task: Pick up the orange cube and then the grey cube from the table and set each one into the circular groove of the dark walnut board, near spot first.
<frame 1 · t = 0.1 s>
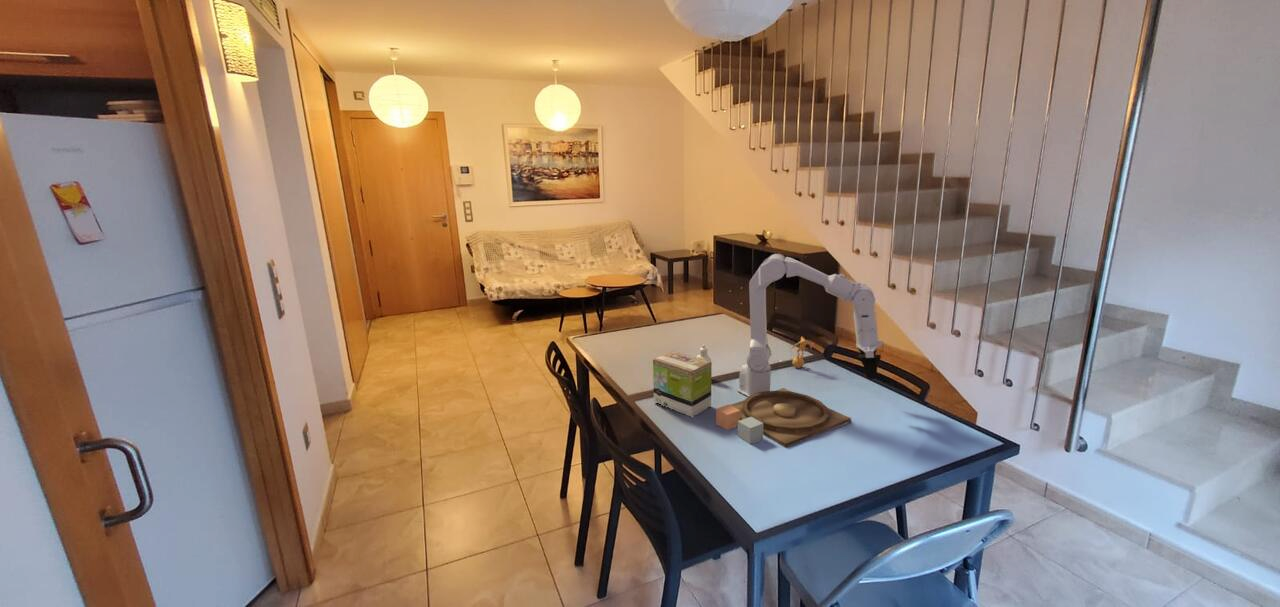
hand: (870, 373, 147), 11 cm above the table, tool pointing down, fingers open, 7 cm apart
grey cube: (750, 438, 135), on the table
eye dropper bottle: (703, 378, 175), on the table
groove tray: (784, 415, 146), on the table
figurine: (799, 369, 181), on the table
tea box: (682, 406, 155), on the table
orange cube: (727, 424, 142), on the table
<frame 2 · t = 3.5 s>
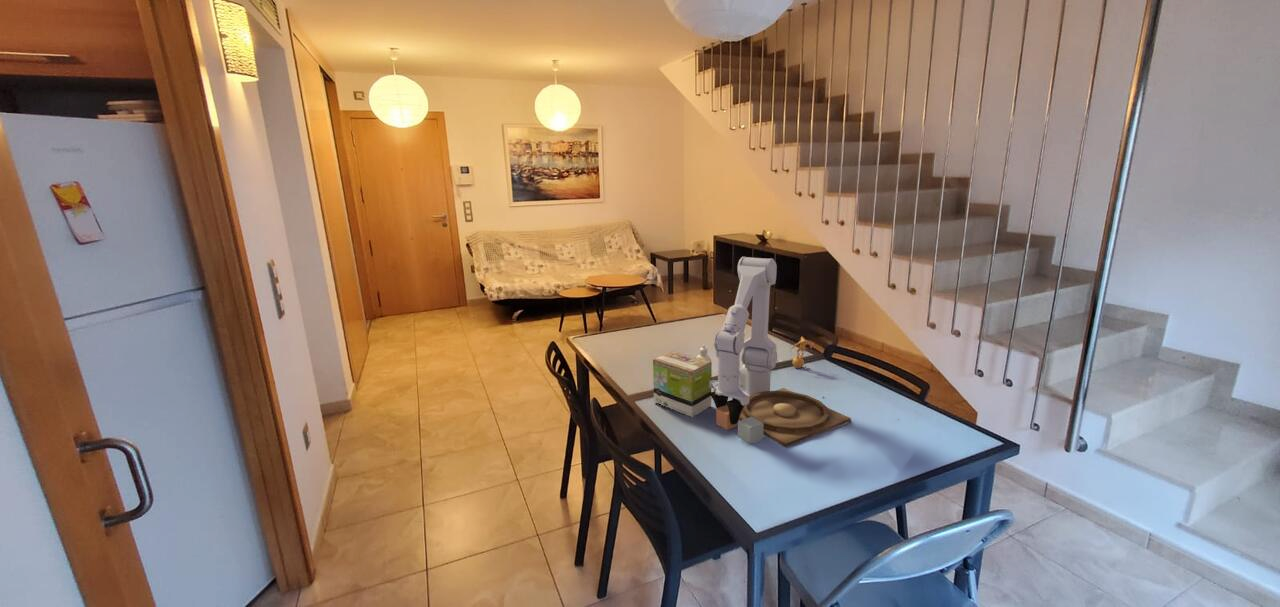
hand: (728, 419, 142), 1 cm above the table, tool pointing down, fingers closed on orange cube, 5 cm apart
orange cube: (727, 424, 142), on the table, touching gripper
everything else where it was.
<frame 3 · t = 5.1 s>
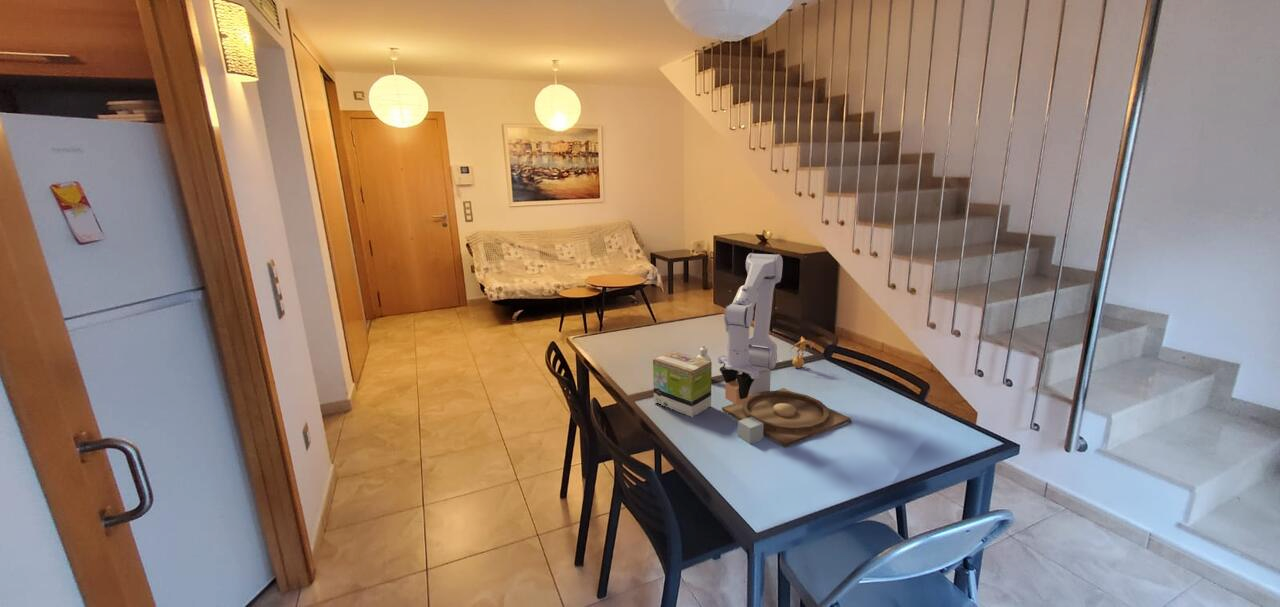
hand: (737, 394, 141), 8 cm above the table, tool pointing down, fingers closed on orange cube, 5 cm apart
orange cube: (737, 399, 142), point 7 cm above the table, touching gripper
everything else where it was.
when the fingers open (4 cm above the table, at t = 6.9 s): orange cube drops 1 cm, resting on groove tray.
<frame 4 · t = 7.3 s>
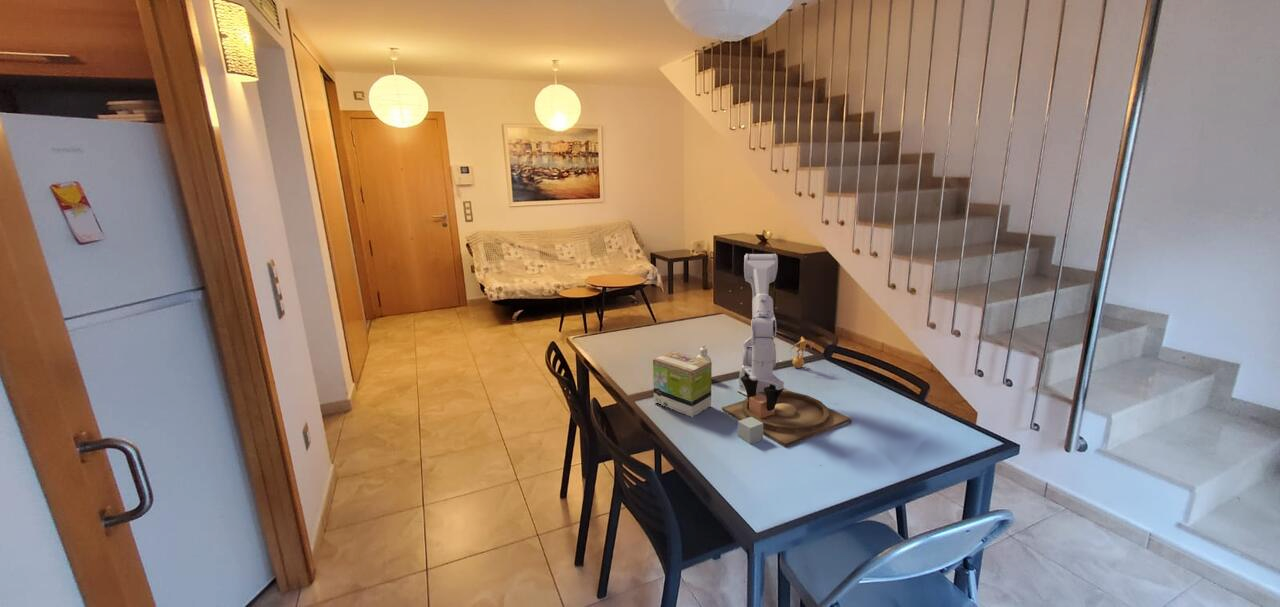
hand: (761, 404, 145), 4 cm above the table, tool pointing down, fingers open, 7 cm apart
orange cube: (760, 413, 146), point 1 cm above the table, touching groove tray
everything else where it was.
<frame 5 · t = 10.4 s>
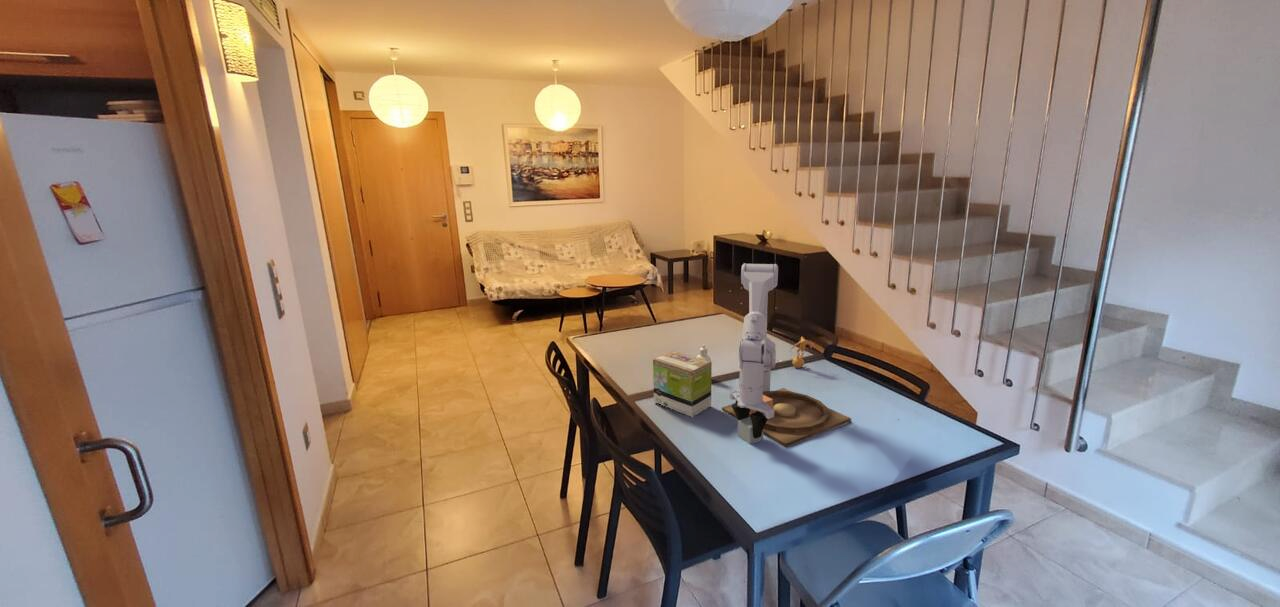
hand: (750, 432, 134), 1 cm above the table, tool pointing down, fingers closed on grey cube, 5 cm apart
grey cube: (750, 437, 135), on the table, touching gripper
everything else where it was.
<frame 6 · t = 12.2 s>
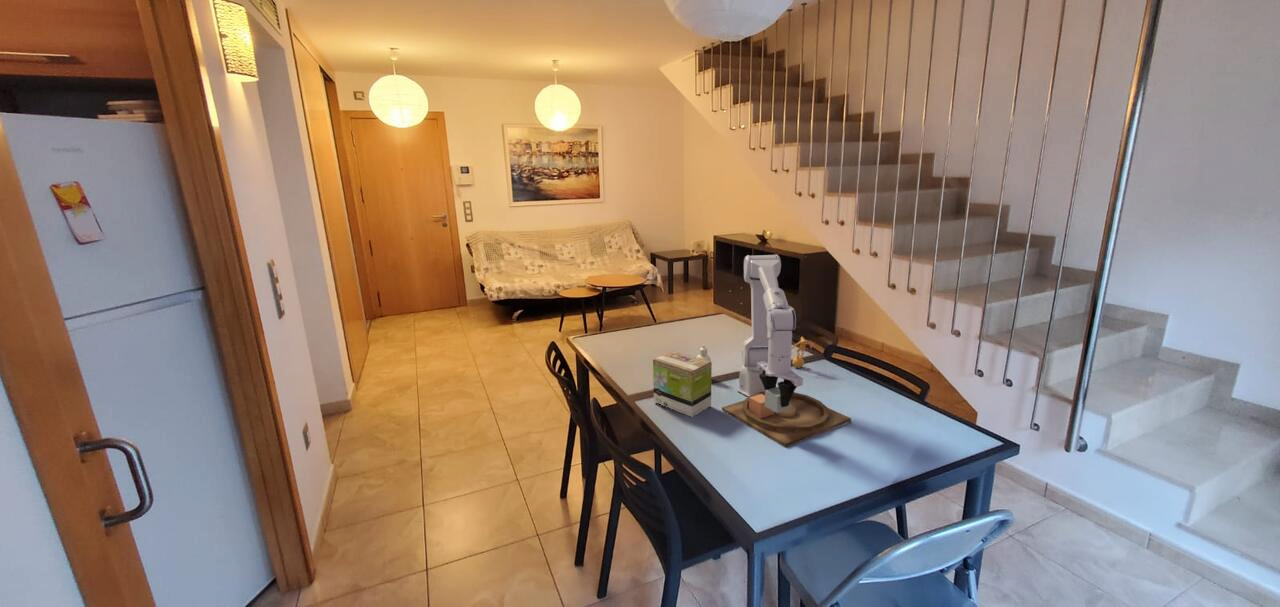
hand: (777, 402, 136), 8 cm above the table, tool pointing down, fingers closed on grey cube, 5 cm apart
grey cube: (777, 407, 136), point 7 cm above the table, touching gripper
everything else where it was.
when the fingers open (4 cm above the table, at t = 13.9 s): grey cube drops 1 cm, resting on groove tray.
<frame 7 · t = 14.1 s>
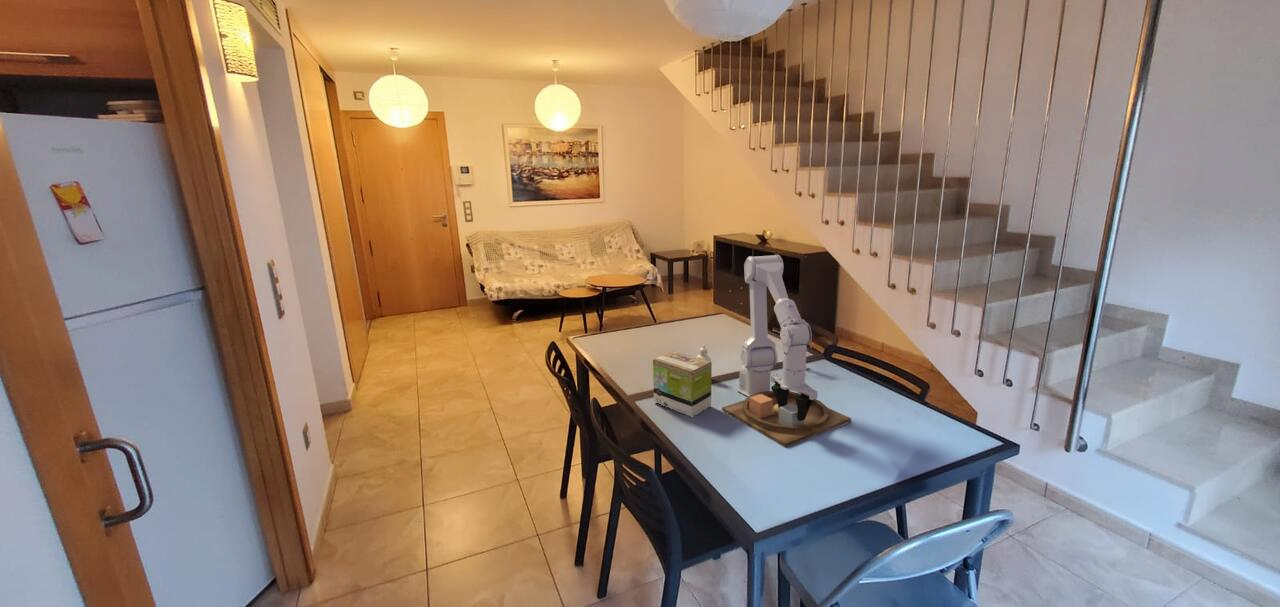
hand: (791, 414, 139), 4 cm above the table, tool pointing down, fingers open, 6 cm apart
grey cube: (790, 423, 139), point 1 cm above the table, touching groove tray
everything else where it was.
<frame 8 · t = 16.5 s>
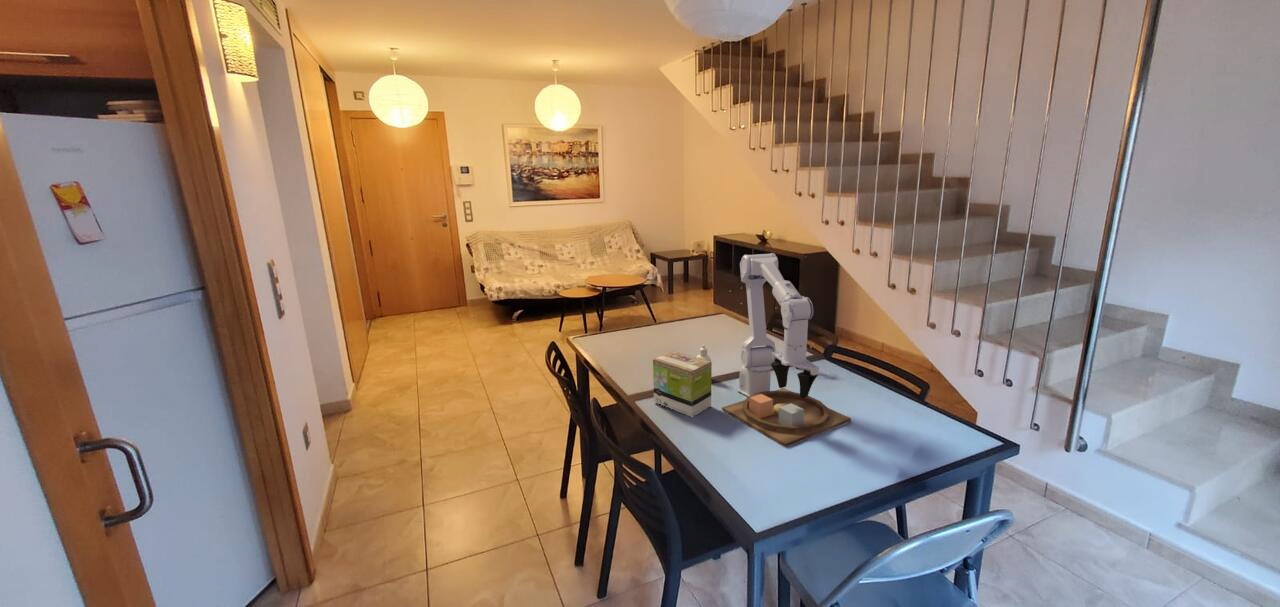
hand: (793, 391, 137), 10 cm above the table, tool pointing down, fingers open, 7 cm apart
nothing on the table moved.
at the end: orange cube inside the target area on the groove tray (6.8 cm from its centre), point 1.0 cm above the groove tray's base; grey cube inside the target area on the groove tray (6.8 cm from its centre), point 1.0 cm above the groove tray's base; the gripper is holding nothing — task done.
